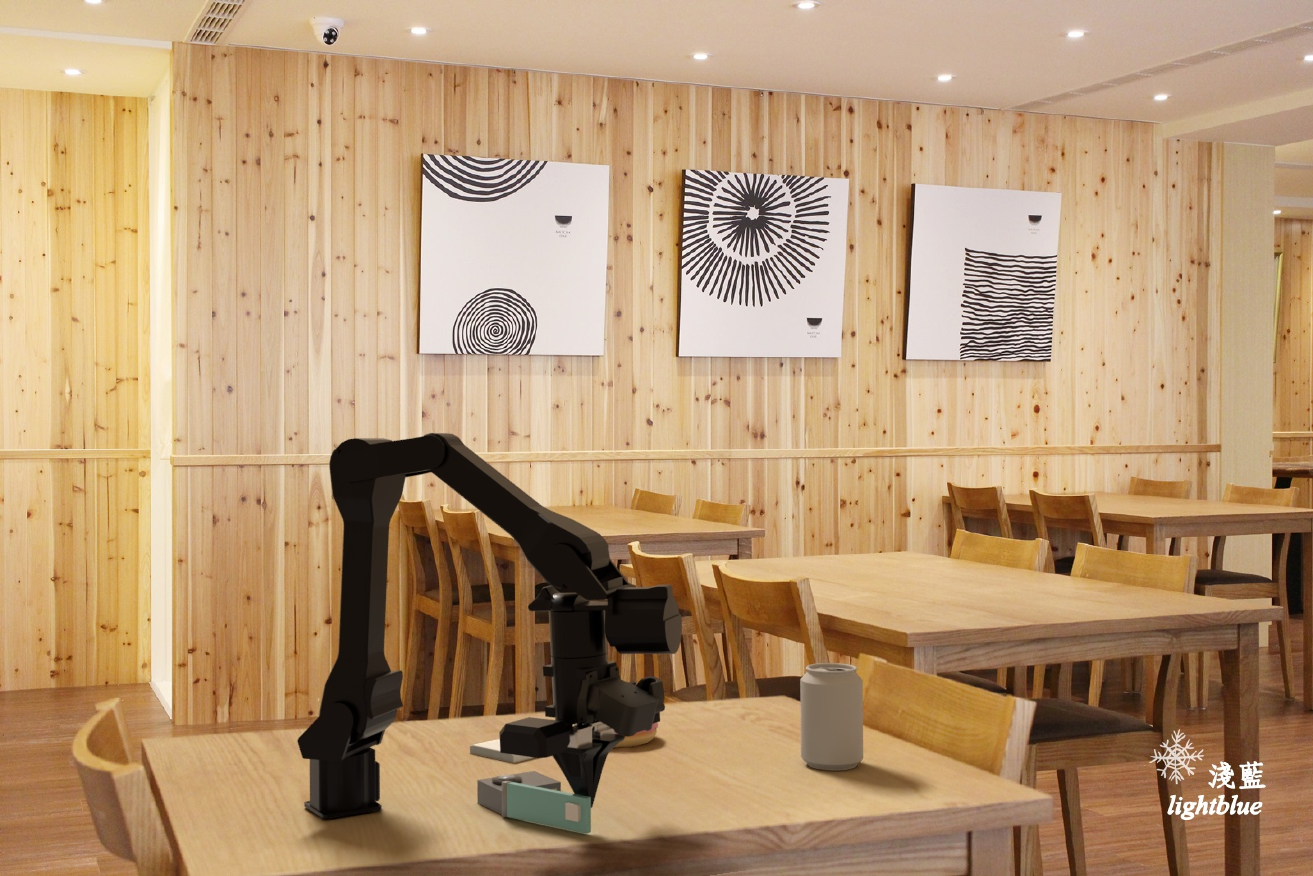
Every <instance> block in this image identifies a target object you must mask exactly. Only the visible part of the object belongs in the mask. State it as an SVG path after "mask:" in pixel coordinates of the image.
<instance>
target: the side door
mask: <svg viewBox="0 0 1313 876" xmlns="http://www.w3.org/2000/svg"><path fill="white" fill-rule="evenodd" d="M501 817H504V818H510V819H515V820H520V821H525V822H530V823H534V824H538V825H543V826H547V827H553V828H557V829H563V830H565V831H566V830H567V831H572V832H576V833H580V834H586V835H587V834H590V833H591V832H592V808H591V797H587V796H582V795H577V794H574V793H571V792H566V791H562V790H561V791H556V790H551V789H546V788H541V787H535V786H530V785H525V784H520V783H515V782H511V781H503V782H502V815H501Z"/></svg>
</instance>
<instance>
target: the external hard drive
mask: <svg viewBox="0 0 1313 876" xmlns="http://www.w3.org/2000/svg"><path fill="white" fill-rule="evenodd" d="M469 753H470V754H471V755H476V756H481V757H486V758H489V759H494V760H498V761H503V762H506V763H510V764H511V763H512V764H516V763H519V762H523V761H528V760H531V759H535V758H534V757H527V756H520V755H513V754H506V753H500V738H497V739H493V740H488V741H484V742H480V743H475V744H471V745H470V746H469Z"/></svg>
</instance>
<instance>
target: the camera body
mask: <svg viewBox="0 0 1313 876" xmlns="http://www.w3.org/2000/svg"><path fill="white" fill-rule="evenodd" d="M503 781H511V782H515V783H520V784H525V785H530V786H535V787H541V788H546V789H551V790H556V791H561V792H562V783H561V781H559V780H557V779H554V778H553V777H550V776H548V775H545V774H542V773H540V772H538V771H535V770H532V771H531V770H530V771H525V772H519V773H511V774H504V775H502V774H501V775H497V776H495V777H494V776H493V777H488V778H480V779H477V780H476V782H477V787H476V788H477V791H476V792H477V804H479V805H480V806H482V807H485V808H487V809H489V810H491V811H492V812H495V813H497V814H499V815H500V816H502V782H503Z"/></svg>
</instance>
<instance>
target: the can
mask: <svg viewBox="0 0 1313 876" xmlns="http://www.w3.org/2000/svg"><path fill="white" fill-rule="evenodd" d="M805 669H806V672H805V673H804V675H803V676H802V677H801V678H800V679H799V681H800V683H799V685H800V686H799V687H800V688H799V689H800V757H801V759H802V760H803V762H805V763H806V764H807V765H808V766H807V767H810V768H812V769H817V770H822V771H832V772H833V771H847V770H848V771H849V770H851V769H855V768H857V766H858V765H859V764H860V762H862V761H863V759H864V702H863V701H864V694H863V693H864V689H863V688H864V684H863V683H864V680H863V679H862V677H860V676H859V674H858V673H857V670H858V667H857V666H856V665H853V664H847V663H838V662H837V663H836V662H822V663H821V662H820V663H819V662H818V663H812V664H808V665H806V667H805Z"/></svg>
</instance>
